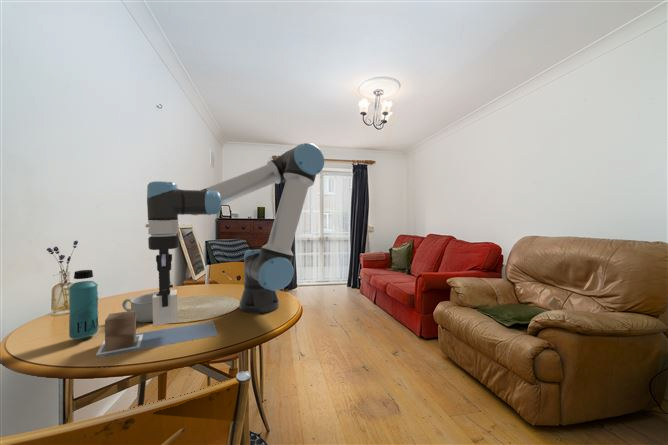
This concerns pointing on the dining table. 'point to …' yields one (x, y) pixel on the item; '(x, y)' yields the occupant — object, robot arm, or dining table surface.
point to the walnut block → (120, 330)
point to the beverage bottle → (83, 306)
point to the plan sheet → (164, 338)
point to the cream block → (157, 310)
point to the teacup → (141, 307)
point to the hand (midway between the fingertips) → (165, 313)
